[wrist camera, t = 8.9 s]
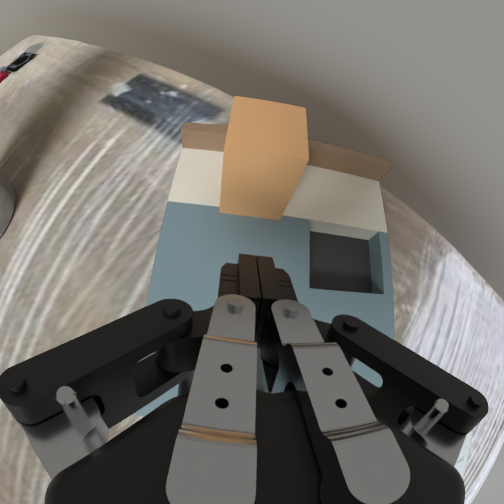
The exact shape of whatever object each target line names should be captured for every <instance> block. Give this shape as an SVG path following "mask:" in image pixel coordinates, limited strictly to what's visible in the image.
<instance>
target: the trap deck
mask: <svg viewBox="0 0 504 504" xmlns="http://www.w3.org/2000/svg"><path fill="white" fill-rule="evenodd" d="M227 130H228V126H221V125H211V124H200V123H187V122H184V123H183V125H182V128H181V135H182V147H183V148H182V152H181V155H180V158H179V162H178V165H177V169H176V172H175V176H174V180H173V183H172V187H171V191H170V195H169V198H168V202H167V206H166V211H165V215H164V219H163V223H162V227H161V232H160V236H159V241H158V246H157V251H156V255H155V260H154V266H153V271H152V276H151V282H150V287H149V293H148V299H147V306H148V305H151V304H153V303H155V302H157V301H160V300H163V299H179V300H182V301H185V302H186V303H188V304H189V305H190V306H191V307H192V309H193V311H200V310H205V309H208V308H211V307H212V306H214V305H215V301H216V300H217V299H218V290H219V281H220V272H221V267H222V266H223V265H224V264H225V263H234V264H237V263H238V256H239V253H240V254H249V255H255V256H256V255H258V256H267V257H273V261H274V264H275V268H279V269H283V270H285V271H286V272H287V273H288V274H289V276H290V279H291V282H292V285H293V288H294V291H295V294H296V297H297V300H298V302H299V303H301V304H303V305H305V306H306V307H307V308H308V310H309V311H310V313H311V315H312V318H313V319H315V320H318V321H322V322H326V323H330V324H331V322H332V320H333V318H334V317H335V316H337V315H342V314H345V315H351V316H354V317H357V318H358V319H360V320H362V321H364V322H365V323H367V324H368V325H370V326H372V327H373V328H375V329H377V330H378V331H380V332H382V333H383V334H385V335H387V336H388V337H390V338H392V339H393V340H394V303H393V285H392V272H391V260H390V251H389V242H388V234H387V227H386V220H385V213H384V207H383V201H382V195H381V190H380V185H379V181H380V179H381V178H382V177H383V176H384V175H385V174H386V172H387V171H388V170H389V169H390V164H389V161H388V160H386V159H383V158H380V157H376V156H373V155H369V154H366V153H362V152H359V151H355V150H351V149H347V148H343V147H339V146H335V145H331V144H327V143H322V142H318V141H313V140H309V139H308V149H309V161H308V163H307V165H306V167H305V169H304V171H303V173H302V175H301V177H300V180H299V182H298V184H297V186H296V188H295V190H294V192H293V194H292V196H291V198H290V200H289V202H288V205H287V207H286V209H285V211H284V213H283V215H282V217H281V219H280V220H273V219H265V218H258V217H251V216H243V215H236V214H228V213H220V212H219V208H220V194H221V180H222V167H223V155H224V145H225V140H226V135H227ZM154 353H155V352H154ZM152 354H153V353H152ZM152 354H150V355H152ZM260 354H261V349H260V348H257V376H256V390H259V391H264V389H263V384H262V379H261V373H260V368H259V358H260ZM150 355H149V356H150ZM147 357H148V356H147ZM145 358H146V357H145ZM145 358H143V359H145ZM143 359H141V360H143ZM141 360H140V361H141ZM351 370H353V371H354V372H356V373H357V374H359V375H360V376H361V377H363V378H364V379H366V380H367V381H369V382H370V383H372V384H373V385H375V386H377V387H381V386H382V383H383V380H382V377H381V376H380V375H379V374H378V373H377V372H375V371H374V370H372V369H371V368H369V367H368V366H366V365H365V364H363V363H362V362H360V361H359V360H357V359H355V361H354V363H353V365H352V367H351ZM194 372H195V371H191V374H190V375H189V376H188V377H187V378H186V379H185V380H183V381H182V382H180V383H179V384H177V385H176V386H175V387H173V388H172V389H170V390H169V391H167V392H166V393H164V394H163V395H161V396H160V397H158V398H157V399H155V400H154V401H152V402H151V403H149V404H148V405H146V406H144V407H143V408H141V409H140V410H138V411H137V412H135V414H136V415H141V416H146V415H147V414H149V413H150V412H152V411H153V410H154V409H156V408H157V407H158V406H160V405H161V404H163V403H164V402H166V401H168V400H170V399H171V398H174V397H176V396H179V395H182V394H186V393H190V389H191V384H192V380H193V376H194Z"/></svg>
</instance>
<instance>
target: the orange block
mask: <svg viewBox="0 0 504 504" xmlns="http://www.w3.org/2000/svg"><path fill="white" fill-rule="evenodd" d="M307 134H308V133H307V120H306V109H305V108H303V107H298V106H293V105H288V104H283V103H277V102H272V101H266V100H260V99H253V98H246V97H239V96H235V97H234V101H233V106H232V111H231V115H230V120H229V125H228V130H227V135H226V140H225V145H224V155H223V167H222V180H221V194H220V208H219V212H220V213H228V214H236V215H243V216H251V217H258V218H265V219H273V220H280V219H281V217H282V215H283V213H284V211H285V209H286V207H287V205H288V202H289V200H290V198H291V196H292V194H293V192H294V190H295V188H296V186H297V184H298V182H299V180H300V177H301V175H302V173H303V171H304V169H305V167H306V165H307V163H308V161H309V149H308V135H307Z"/></svg>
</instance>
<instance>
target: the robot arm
mask: <svg viewBox="0 0 504 504" xmlns="http://www.w3.org/2000/svg"><path fill="white" fill-rule="evenodd" d="M15 200H16V195H15V190H14V188H13V186H12V185H11V184H10V182H9V181H8V180H7V179H6V178H5V177H4V175H3V174H2V173H1V172H0V237H1V236H2V234H3V233H4V231H5V230H6V228H7V226H8V224H9V222H10V220H11V217H12V214H13V211H14V207H15ZM257 348H260V349H261V354H260V358H259V368H260V373H261V379H262V384H263V389H264V391H259V390H256V376H257ZM154 352H155V353H154ZM152 353H153V354H152ZM150 354H152V355H150ZM149 355H150V356H149ZM147 356H148V357H147ZM145 357H146V358H145ZM143 358H145V359H143ZM141 359H143V360H141ZM355 359H357V360H359V361H360V362H362V363H363V364H365V365H366V366H368V367H369V368H371V369H372V370H374V371H375V372H377V373H378V374H379V375H380V376H381V377H382V380H383V383H382V386H381V387H377V386H375V385H373V384H372V383H370V382H369V381H367V380H366V379H364V378H363V377H361V376H360V375H359V374H357V373H356V372H354V371H353V370H351V367H352V365H353V363H354V361H355ZM140 360H141V361H140ZM138 361H139V362H138ZM191 371H195V372H194V376H193V380H192V384H191V389H190V393H186V394H182V395H179V396H176V397H174V398H171V399H170V400H168V401H166V402H164V403H163V404H161V405H160V406H158V407H157V408H156V409H154V410H153V411H152V412H150V413H149V414H147V415H146V416H145V417H143V418H142V419H140V420H139V421H138V422H136V423H135V424H133V425H132V426H130V427H129V428H127V429H126V430H125V431H123V432H122V433H120V434H119V435H117V436H116V437H114V438H113V439H111V440H110V441H108V442H107V440H108V437H109V430H108V429H109V428H111V427H112V426H114V425H116V424H117V423H119V422H121V421H122V420H124V419H126V418H127V417H129V416H130V415H132V414H133V413H135V412H137V411H138V410H140V409H141V408H143V407H144V406H146V405H148V404H149V403H151V402H152V401H154V400H155V399H157V398H158V397H160V396H161V395H163V394H164V393H166V392H167V391H169V390H170V389H172V388H173V387H175V386H176V385H177V384H179V383H180V382H182V381H183V380H185V379H186V378H187V377H188V376H189V375H190V374H191ZM0 398H1V400H2V401H3V403H4V404H5V405H6V407H7V408H8V410H9V411H10V412H11V415H12V416H13V418H14V419H15V421H16V422H17V423H18V424H19V426H20V427H21V428H22V429H23V430H24V432H25V433H26V435H27V437H28V439H29V441H30V443H31V445H32V447H33V449H34V450H35V452H36V454H37V456H38V458H39V459H40V461H41V463H42V464H43V466H44V468H45V469H46V471H47V472H48V474H49V476H50V477H51V479H52V481H51V482H50V484H49V486H48V488H47V491H46V495H45V504H464V500H465V486H464V482H463V479H462V477H461V475H460V473H459V472H458V470H457V469H456V468H455V467H454V466H455V464H456V461H457V459H458V456H459V454H460V451H461V449H462V446H463V443H464V441H465V438H466V435H467V434H468V433H469V432H470V431H471V430H472V429H473V428H474V427H475V426H476V425H477V424H478V423H479V422H480V421H481V420H482V419H483V418H484V417H485V416H486V414H487V413H488V403H487V400H486V399H485V397H484V396H483V395H482V394H481V393H480V392H479V391H477V390H476V389H474V388H473V387H471V386H469V385H468V384H466V383H464V382H463V381H461V380H459V379H458V378H456V377H454V376H453V375H451V374H449V373H448V372H446V371H444V370H443V369H441V368H439V367H438V366H436V365H434V364H433V363H431V362H430V361H428V360H426V359H425V358H423V357H421V356H420V355H418V354H416V353H415V352H413V351H411V350H410V349H408V348H406V347H405V346H403V345H401V344H400V343H398V342H396V341H395V340H393V339H392V338H390V337H388V336H387V335H385V334H383V333H382V332H380V331H378V330H377V329H375V328H373V327H372V326H370V325H368V324H367V323H365V322H364V321H362V320H360V319H358V318H357V317H354V316H351V315H345V314H342V315H337V316H335V317H334V318H333V320H332V322H331V324H330V323H326V322H322V321H318V320H315V319H313V318H312V315H311V313H310V311H309V310H308V308H307V307H306V306H305V305H303V304H301V303H299V302H298V300H297V297H296V294H295V291H294V288H293V285H292V282H291V279H290V276H289V274H288V273H287V272H286V271H285V270H283V269H279V268H275V264H274V261H273V257H267V256H258V255H256V256H255V255H249V254H240V253H239V256H238V263H237V264H234V263H225V264H224V265H223V266H222V267H221V272H220V281H219V290H218V299H217V300H216V301H215V305H214V306H212V307H211V308H208V309H205V310H200V311H193V309H192V307H191V306H190V305H189V304H188V303H186V302H185V301H182V300H179V299H163V300H160V301H157V302H155V303H153V304H151V305H148V306H146V307H144V308H142V309H140V310H137V311H135V312H133V313H131V314H129V315H126V316H124V317H122V318H120V319H117V320H115V321H113V322H111V323H109V324H106V325H104V326H102V327H100V328H97V329H95V330H93V331H91V332H89V333H86V334H84V335H82V336H80V337H77V338H75V339H73V340H71V341H68V342H66V343H64V344H62V345H59V346H57V347H55V348H53V349H51V350H48V351H46V352H44V353H42V354H39V355H37V356H35V357H32V358H30V359H28V360H26V361H23V362H21V363H19V364H17V365H14V366H12V367H10V368H8V369H7V370H5V371H4V372H3V373H2V374H1V376H0ZM106 442H107V443H106Z"/></svg>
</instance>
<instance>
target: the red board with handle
mask: <svg viewBox="0 0 504 504" xmlns="http://www.w3.org/2000/svg"><path fill="white" fill-rule="evenodd" d="M34 55H35V54H32V53H24V54H22V55H21V56H20V57H18V58H17V59H16V60H15V61H13V62H12V63H11V64H10V65H8V66H7V67H6V68H5V67H4V66H3V67H2V68H0V82H1V81H2V80H4V79H5V78H6V77H7V76H8V73H7V72H6V71H7V70H9V71H12V72H14V71H15V70H16V69H17V68H18V67H20V66H21V65H22V64H23V63H25V62H26V61H27V60H29V59H30V58H31V57H33V56H34Z"/></svg>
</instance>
